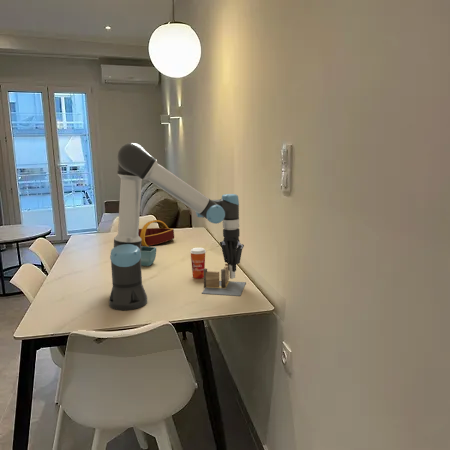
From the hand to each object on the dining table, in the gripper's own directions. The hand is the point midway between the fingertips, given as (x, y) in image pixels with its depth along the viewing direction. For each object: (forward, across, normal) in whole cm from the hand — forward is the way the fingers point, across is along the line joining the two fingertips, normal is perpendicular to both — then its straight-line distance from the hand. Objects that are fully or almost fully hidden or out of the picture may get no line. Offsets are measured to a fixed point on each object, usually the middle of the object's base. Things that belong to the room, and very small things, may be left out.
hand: (232, 277), depth 183 cm
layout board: (+3, -1, +7) cm, 8 cm away
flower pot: (+2, +55, +8) cm, 55 cm away
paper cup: (+3, +19, +4) cm, 19 cm away
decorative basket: (+1, +94, -29) cm, 98 cm away
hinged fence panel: (+2, +2, +2) cm, 4 cm away
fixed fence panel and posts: (+3, +3, +9) cm, 10 cm away
